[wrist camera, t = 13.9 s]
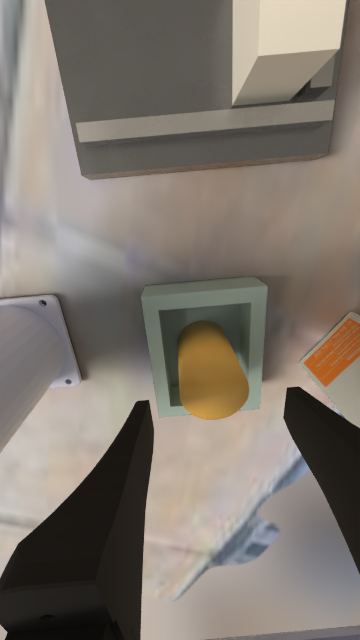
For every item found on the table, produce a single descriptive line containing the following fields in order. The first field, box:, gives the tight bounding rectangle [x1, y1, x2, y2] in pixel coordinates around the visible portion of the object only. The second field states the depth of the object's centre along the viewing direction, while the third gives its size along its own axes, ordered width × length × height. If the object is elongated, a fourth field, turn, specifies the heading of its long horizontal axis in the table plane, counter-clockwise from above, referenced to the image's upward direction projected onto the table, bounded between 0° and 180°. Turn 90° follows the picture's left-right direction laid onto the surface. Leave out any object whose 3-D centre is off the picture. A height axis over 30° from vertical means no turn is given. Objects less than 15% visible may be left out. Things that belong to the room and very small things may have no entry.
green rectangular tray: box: [141, 276, 268, 418], centre depth 18 cm, size 8×10×3 cm
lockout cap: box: [177, 320, 249, 420], centre depth 16 cm, size 4×4×6 cm
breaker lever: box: [232, 0, 346, 106], centre depth 9 cm, size 3×5×4 cm, turn 5°
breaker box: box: [45, 0, 349, 180], centre depth 11 cm, size 14×10×3 cm
